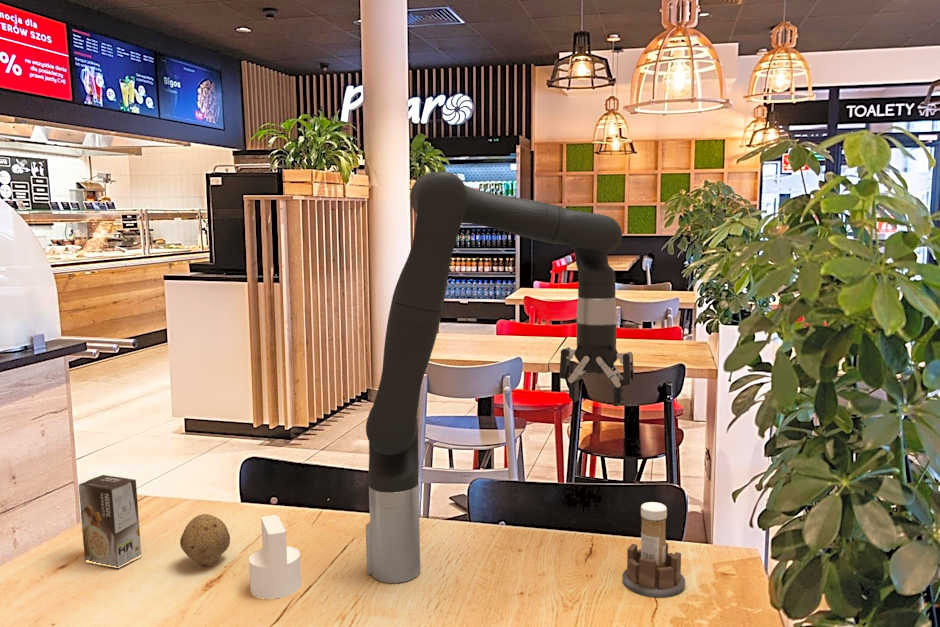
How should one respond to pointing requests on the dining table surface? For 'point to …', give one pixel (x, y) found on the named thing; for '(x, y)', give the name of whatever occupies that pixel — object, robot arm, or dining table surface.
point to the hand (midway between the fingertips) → (595, 403)
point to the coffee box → (110, 520)
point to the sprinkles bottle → (654, 533)
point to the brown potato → (205, 539)
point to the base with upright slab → (274, 563)
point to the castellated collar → (653, 574)
